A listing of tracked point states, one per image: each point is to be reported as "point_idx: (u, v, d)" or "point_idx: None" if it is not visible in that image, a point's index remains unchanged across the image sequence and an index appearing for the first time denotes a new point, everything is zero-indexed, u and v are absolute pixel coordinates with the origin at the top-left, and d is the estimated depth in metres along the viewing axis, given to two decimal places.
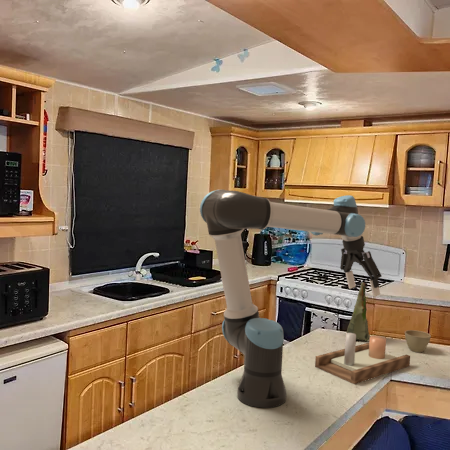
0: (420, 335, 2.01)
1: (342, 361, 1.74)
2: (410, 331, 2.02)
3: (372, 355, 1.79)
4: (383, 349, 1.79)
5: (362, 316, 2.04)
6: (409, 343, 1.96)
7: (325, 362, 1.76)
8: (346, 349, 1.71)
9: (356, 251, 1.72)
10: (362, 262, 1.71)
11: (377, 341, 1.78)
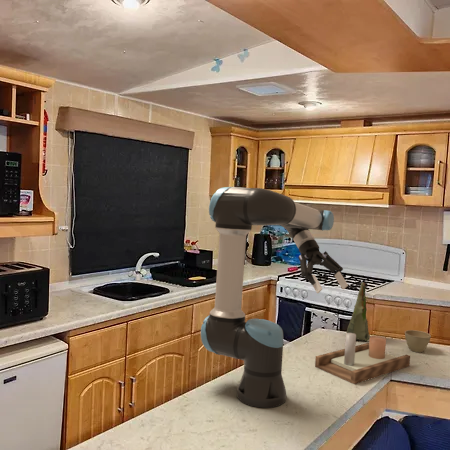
0: (420, 335, 2.01)
1: (342, 361, 1.74)
2: (410, 331, 2.02)
3: (372, 355, 1.79)
4: (383, 349, 1.79)
5: (362, 316, 2.04)
6: (409, 343, 1.96)
7: (325, 362, 1.76)
8: (346, 349, 1.71)
9: (317, 251, 1.87)
10: None
11: (377, 341, 1.78)
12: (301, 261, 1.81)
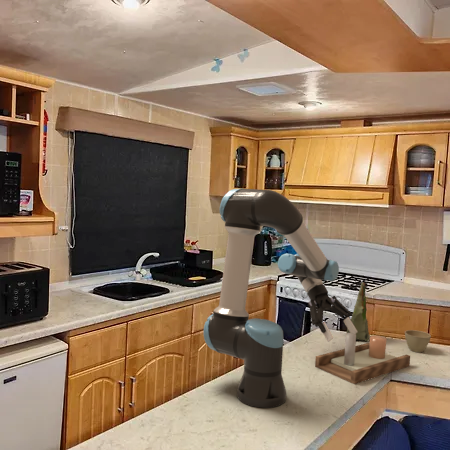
0: (420, 335, 2.01)
1: (342, 361, 1.74)
2: (410, 331, 2.02)
3: (372, 355, 1.79)
4: (383, 349, 1.79)
5: (362, 316, 2.04)
6: (409, 343, 1.96)
7: (325, 362, 1.76)
8: (346, 349, 1.71)
9: (326, 296, 1.85)
10: None
11: (378, 341, 1.78)
12: (311, 307, 1.78)
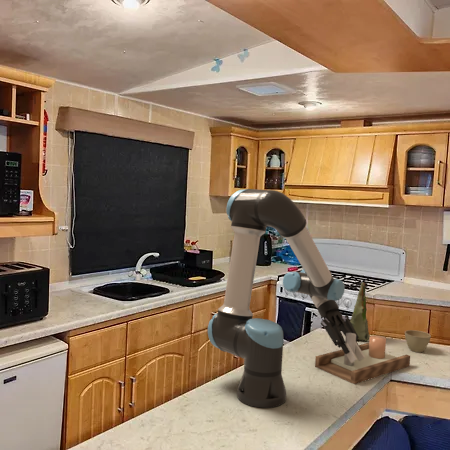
0: (420, 335, 2.01)
1: (342, 361, 1.74)
2: (410, 331, 2.02)
3: (373, 355, 1.79)
4: (383, 348, 1.79)
5: (362, 316, 2.04)
6: (409, 343, 1.96)
7: (325, 362, 1.76)
8: None
9: (337, 311, 1.80)
10: None
11: (378, 340, 1.78)
12: (327, 328, 1.73)
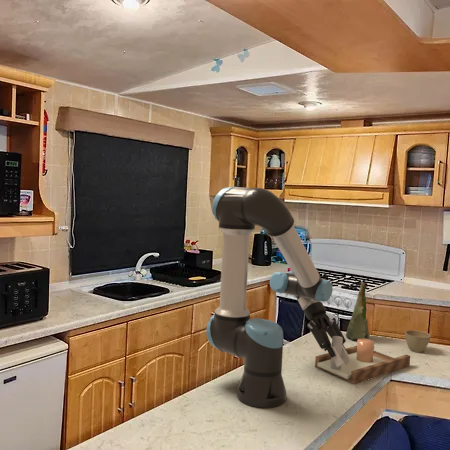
0: (420, 335, 2.01)
1: (329, 365, 1.70)
2: (410, 331, 2.02)
3: (361, 358, 1.75)
4: (372, 352, 1.75)
5: (362, 316, 2.04)
6: (409, 343, 1.96)
7: None
8: None
9: (324, 313, 1.75)
10: None
11: (366, 344, 1.74)
12: (313, 331, 1.69)
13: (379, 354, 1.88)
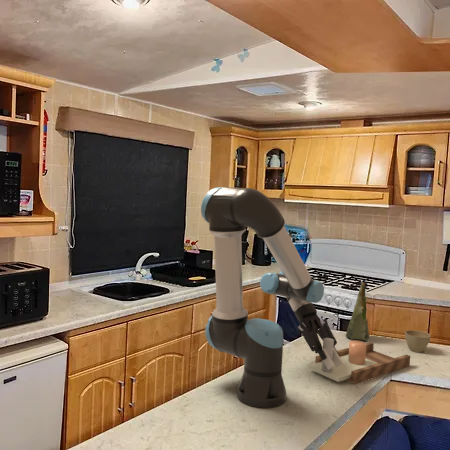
0: (420, 335, 2.01)
1: (320, 367, 1.67)
2: (410, 331, 2.02)
3: (353, 361, 1.72)
4: (364, 354, 1.72)
5: (362, 316, 2.04)
6: (409, 343, 1.96)
7: None
8: None
9: (315, 315, 1.73)
10: None
11: (358, 347, 1.71)
12: (303, 333, 1.66)
13: (379, 354, 1.88)
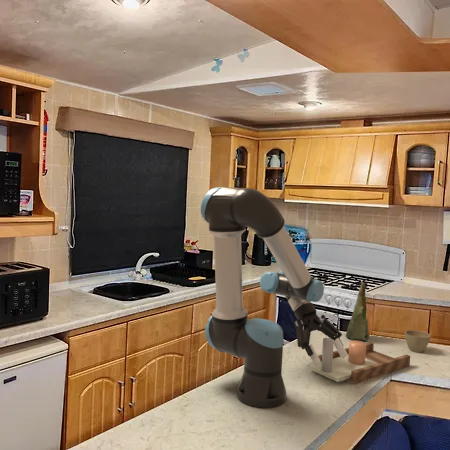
0: (420, 335, 2.01)
1: (319, 367, 1.67)
2: (410, 331, 2.02)
3: (353, 361, 1.72)
4: (364, 354, 1.72)
5: (362, 316, 2.04)
6: (409, 343, 1.96)
7: None
8: (323, 355, 1.64)
9: (314, 315, 1.72)
10: None
11: (358, 347, 1.71)
12: (297, 328, 1.66)
13: (379, 354, 1.88)
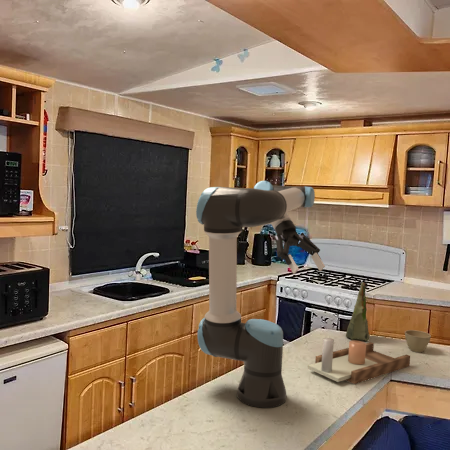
0: (420, 335, 2.01)
1: (319, 367, 1.67)
2: (410, 331, 2.02)
3: (354, 361, 1.72)
4: (365, 353, 1.72)
5: (362, 316, 2.04)
6: (409, 343, 1.96)
7: None
8: (323, 355, 1.64)
9: (294, 232, 1.82)
10: None
11: (360, 346, 1.71)
12: (277, 241, 1.76)
13: (379, 354, 1.88)
